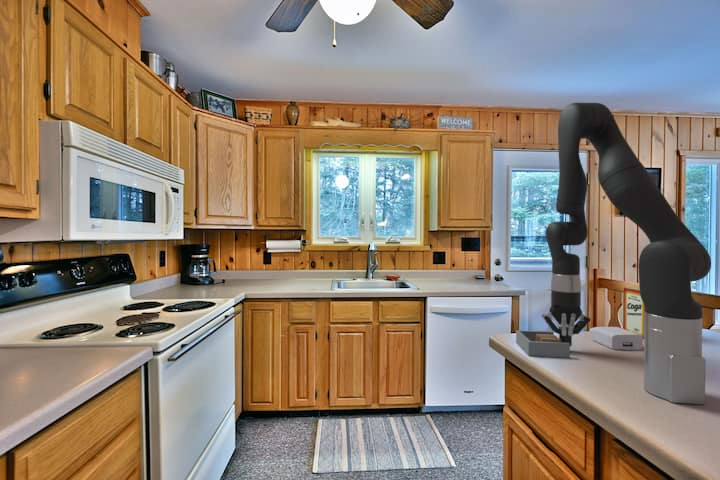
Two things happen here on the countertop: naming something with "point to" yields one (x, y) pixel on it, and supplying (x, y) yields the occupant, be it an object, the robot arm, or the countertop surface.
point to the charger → (617, 338)
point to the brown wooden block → (547, 338)
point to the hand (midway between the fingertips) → (565, 347)
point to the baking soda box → (633, 311)
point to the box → (541, 345)
